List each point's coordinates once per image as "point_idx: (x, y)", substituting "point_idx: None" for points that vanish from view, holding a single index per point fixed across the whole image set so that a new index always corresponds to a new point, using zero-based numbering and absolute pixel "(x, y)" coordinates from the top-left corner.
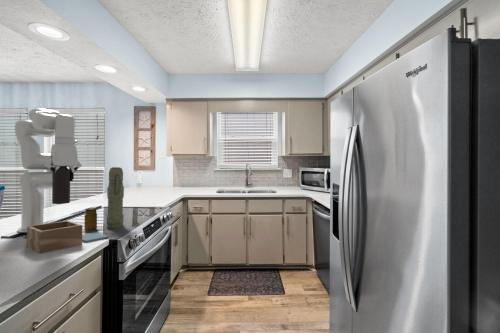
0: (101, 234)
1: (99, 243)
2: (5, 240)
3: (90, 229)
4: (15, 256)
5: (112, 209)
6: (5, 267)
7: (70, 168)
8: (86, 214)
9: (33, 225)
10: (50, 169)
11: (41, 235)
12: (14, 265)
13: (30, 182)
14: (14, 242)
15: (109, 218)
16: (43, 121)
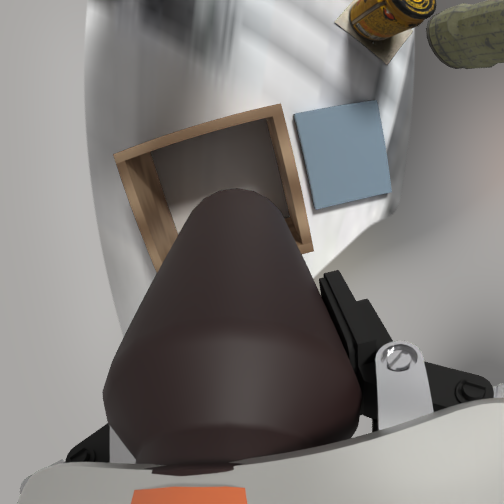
0: (383, 152)
1: (345, 241)
2: (87, 26)
3: (369, 38)
4: (122, 245)
5: (488, 48)
6: (120, 319)
7: (398, 415)
8: (382, 6)
9: (134, 148)
10: (87, 449)
11: None
12: (133, 317)
13: None
14: (108, 65)
15: (454, 43)
16: None
